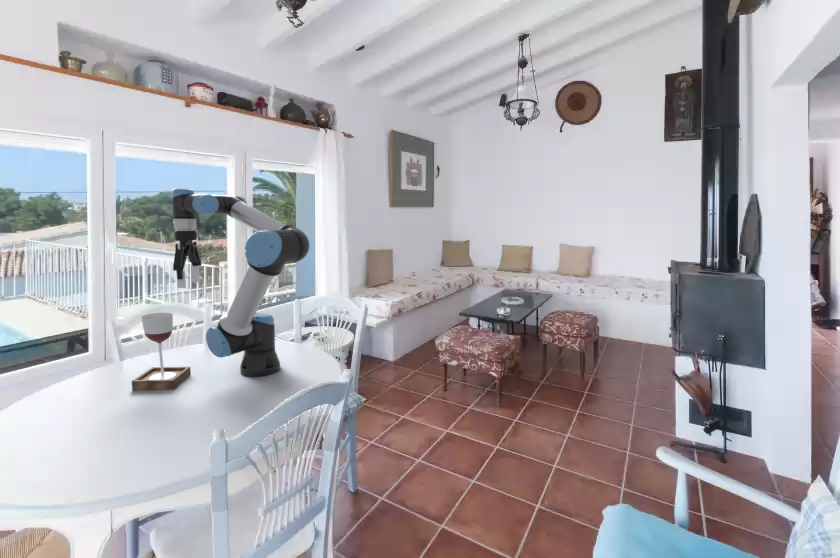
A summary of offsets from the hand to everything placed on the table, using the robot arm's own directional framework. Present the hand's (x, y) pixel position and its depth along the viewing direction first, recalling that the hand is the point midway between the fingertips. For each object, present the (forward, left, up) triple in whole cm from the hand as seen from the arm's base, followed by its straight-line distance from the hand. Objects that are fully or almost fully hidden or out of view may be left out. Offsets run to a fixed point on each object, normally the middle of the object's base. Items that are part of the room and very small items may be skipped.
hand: (189, 284), depth 170 cm
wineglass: (+6, +14, -32) cm, 35 cm away
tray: (+6, +13, -35) cm, 37 cm away
